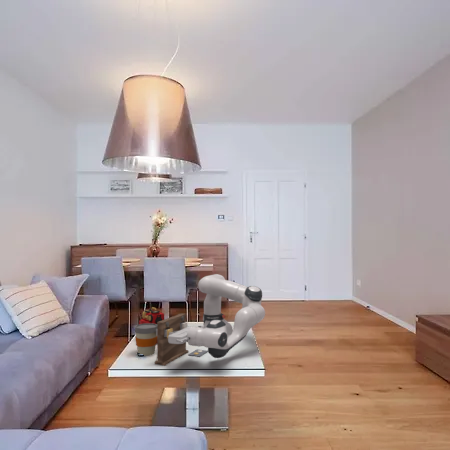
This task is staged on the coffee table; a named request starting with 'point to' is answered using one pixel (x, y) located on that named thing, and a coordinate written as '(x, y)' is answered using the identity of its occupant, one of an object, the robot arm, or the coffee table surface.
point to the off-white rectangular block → (183, 325)
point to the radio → (151, 316)
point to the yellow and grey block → (166, 332)
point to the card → (198, 353)
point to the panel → (164, 348)
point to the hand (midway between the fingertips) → (170, 333)
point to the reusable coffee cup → (146, 338)
